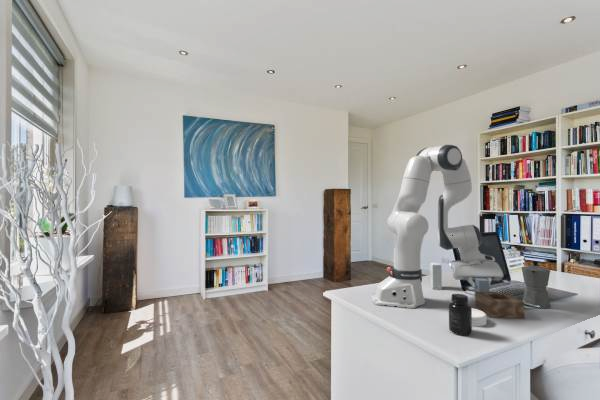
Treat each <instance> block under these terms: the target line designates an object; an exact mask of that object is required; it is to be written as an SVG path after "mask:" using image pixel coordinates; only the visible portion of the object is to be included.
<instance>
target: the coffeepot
mask: <svg viewBox="0 0 600 400" xmlns="http://www.w3.org/2000/svg"><path fill="white" fill-rule="evenodd" d="M538 263H539V262H538V261H536V260H534V261H532V264H533V265H525V266H521V271H522V277H523V282H524V284H525V288H524V292H523V296H522V301H525V302H526V303H530V304H533V305H539V306H540V307H539V308H538V309H541V310H546V309H550V308H552V307H551V302H550V298H549V292H548V290H547V287H548V286H549V279H550V274H551V270H550V269H549V268H547V267H544V266H540V264H538Z"/></svg>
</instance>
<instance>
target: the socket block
mask: <svg viewBox="0 0 600 400" xmlns="http://www.w3.org/2000/svg"><path fill="white" fill-rule="evenodd" d="M474 296H475V297H474V298H475V299H474V301H475V303H474V304H475V307H476V309H478V310H481V311H483V312H484V313H485V314H486V316H487V318H496V319H497V318H498V319H526V318H525V305H524V302H523V300H521V299H519V298H518V297H516V296H514V295H513V294H510V293H509V292H505V291H504V292H503V291H502V292H501V291H489V292H475V291H474Z"/></svg>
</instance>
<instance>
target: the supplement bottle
mask: <svg viewBox="0 0 600 400" xmlns="http://www.w3.org/2000/svg"><path fill="white" fill-rule="evenodd" d="M471 308H472V306H471V305H470V304H469V297H468V295H466V294H463V293H452V294H451V302H449V304H448V329H449V331H450V332H451V331H452V332H454V333H457V334H462V335H461V336H464V335H467V336H470V335H472V334H473V326H472V309H471ZM452 332H451V333H452ZM454 333H453V334H454ZM457 334H456V335H457Z"/></svg>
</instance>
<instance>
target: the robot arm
mask: <svg viewBox="0 0 600 400" xmlns="http://www.w3.org/2000/svg"><path fill="white" fill-rule="evenodd" d="M433 171H434V172H440V173H441V174H442V180H443V184H444V185H443V186H444V188H443V193H442V194H441V195H440V196H438V205H437V218H438V219H437V234H436V241H437V244H438V245H439V247H440V248H442V249H444V250H446V251H448V250H449V251H450V250H454V249H457V248H458V249H457V251H458V250H459V251H458V252H459V257H460V260H452V261H450V262H449V266H450V268H451V271H452V272H451V273H452V277H453V279H454V280H460V281H461V280H462V281H464V280H465V281H467V282H468V283H469V284H470V285H471V287H472V289H475V288H477V287H478V286H477V283H475V278H485V279H487V280H488V281H489V290H490V289H491V288H492V286H491V282H492V281H497V282H498V281H501V280H502V279H503V278H504V273H503V270H502V268H501V267H500V265H499V263H498V262H496V258H495V256H492V255H487V254H485V253H481V252H480V250H479V247H480V246H481V245H482V243H483V241H484V240H483V236H482V233H481V230H480V228H479V227H478V226H477V225H474V224H465V225H461V226H459V225H458V226H454V227H449V226H448V225H449V211H450V210H451V208H452V207H454V206H456V205H457V204H459V203H461V202H463V201H465V200H466V199H467V198H468V197H470V195H471V193H472V190H473V184H472V178H471V174H470V170H469V167H468V164H467V162H466V160H465V159H464V158H463V154H462V152H461V149H460V148H459V147H458V146H457V145H454V144H445V145H434V146H430V147H425V148H423V149H420V150H419V151H418V152H417V154H416V155H415V156H412V157H410V159H409V160H408V162H407V164H406V167H405V170H404V173H403V177H402V180H401V185H400V191H399V192H398V193H399V194H398V196H397V199H396V202H395V204H394V207H393V209H392V211H391V213H390V214H389V216H388V217H387V221H386V225H387V227H388V229H389V230H390V231H391V232H392V233H393V234H395V235H397V239H396V244H395V246H394V249H393V267H390V266H388V267H387V268H386V271H387V272H388V276H387V277H386V278H385V279H383V280H382V281H380V282H379V283H378V284H377V287H376V291H375V292H374V293H372V294H371V297H370V299H371V301H373V302H374V303H373V302H372V303H373V304H375V305H377V304H378V305H377V306H384V305H387V307H394V306H397V307H398V308H405V307H406V309H416V308H417V307H419V306H423V305H425V303H426V301H425V296H424V292H423V287H422V282H423V272H422V270H423V269H421V251H422V244H423V240H424V237H425V235H426V234H427V233H428V231H429V222H428V219H427V218H426V217H425V216H423V215H422V214H420V213H419V211H420V209H421V206H423V204H424V203H425V201H426V199H427V195H428V190H429V186H430V181H431V175H432V173H433ZM452 235H453V236H452ZM455 261H456V262H455Z"/></svg>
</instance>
